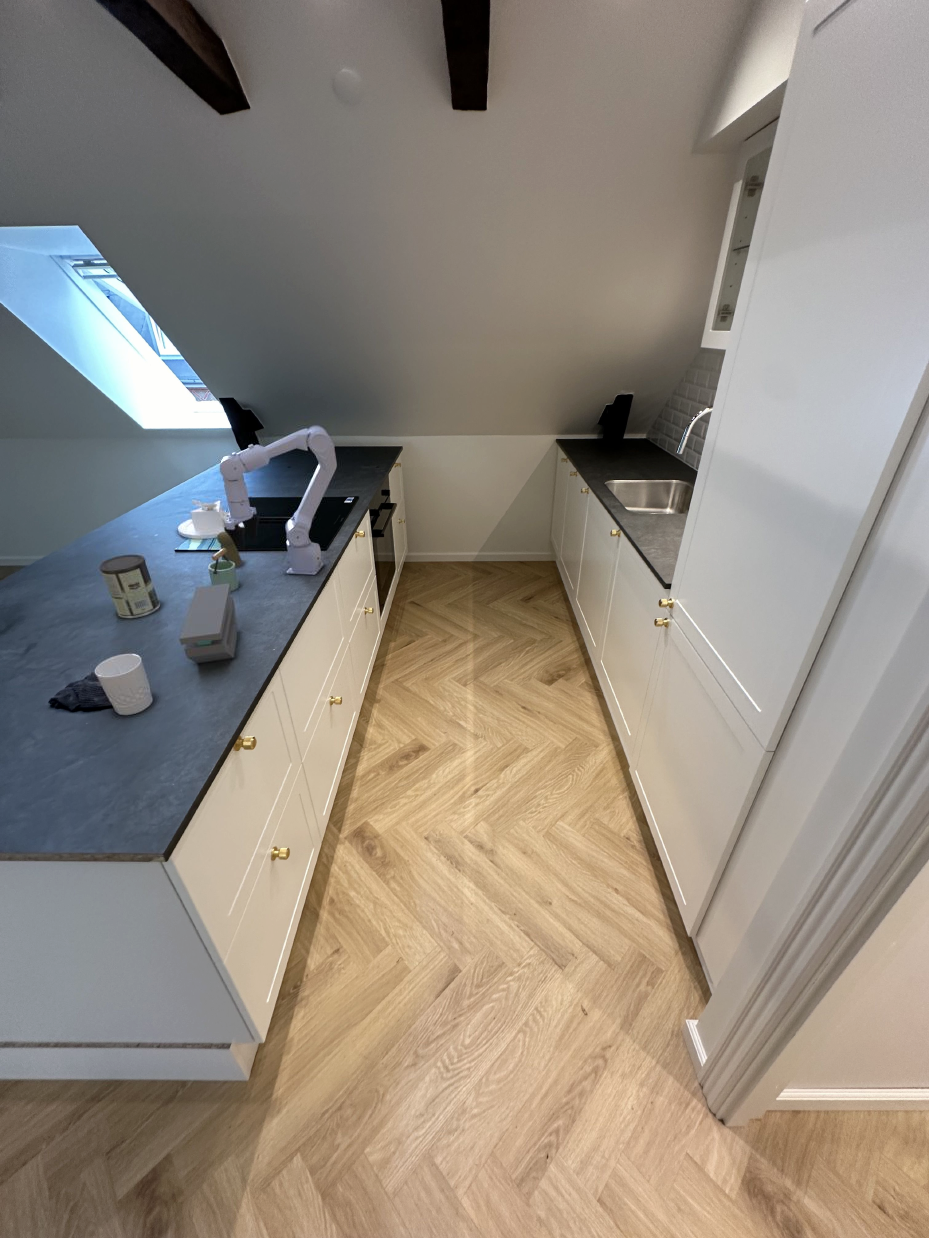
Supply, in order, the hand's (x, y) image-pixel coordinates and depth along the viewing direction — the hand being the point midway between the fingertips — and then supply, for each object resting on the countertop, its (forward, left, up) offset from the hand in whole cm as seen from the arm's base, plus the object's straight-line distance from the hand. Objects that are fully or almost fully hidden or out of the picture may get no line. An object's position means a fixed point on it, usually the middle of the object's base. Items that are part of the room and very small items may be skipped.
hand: (246, 544), depth 153 cm
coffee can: (+22, +24, -11) cm, 34 cm away
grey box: (-10, +40, -11) cm, 42 cm away
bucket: (+5, +9, -10) cm, 14 cm away
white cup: (-3, +62, -11) cm, 63 cm away
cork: (+11, -7, -11) cm, 17 cm away
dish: (+35, -40, -11) cm, 54 cm away
